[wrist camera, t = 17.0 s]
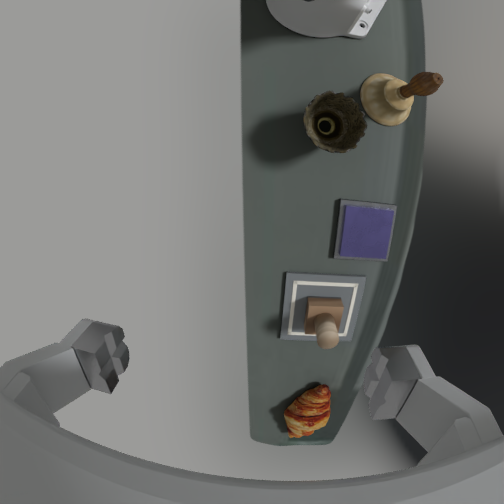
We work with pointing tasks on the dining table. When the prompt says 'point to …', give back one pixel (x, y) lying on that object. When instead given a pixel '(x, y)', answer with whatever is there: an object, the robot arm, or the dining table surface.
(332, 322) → the stamp
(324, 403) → the croissant
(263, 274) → the dining table surface
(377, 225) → the ink pad
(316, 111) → the cup
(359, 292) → the board
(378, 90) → the hand bell
